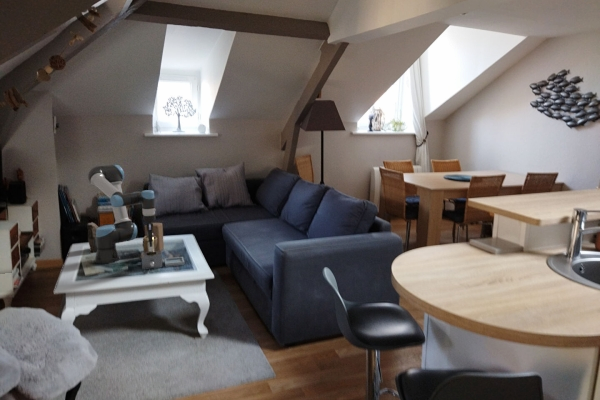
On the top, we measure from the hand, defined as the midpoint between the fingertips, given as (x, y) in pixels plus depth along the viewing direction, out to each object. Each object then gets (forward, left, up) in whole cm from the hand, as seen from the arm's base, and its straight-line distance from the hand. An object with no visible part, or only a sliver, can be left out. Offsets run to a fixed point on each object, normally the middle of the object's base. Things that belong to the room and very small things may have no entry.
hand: (151, 250), depth 294 cm
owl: (-36, +52, -10) cm, 64 cm away
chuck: (0, -3, -10) cm, 11 cm away
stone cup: (-1, +21, -10) cm, 23 cm away
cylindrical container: (0, 0, -5) cm, 5 cm away
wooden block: (+3, +35, -10) cm, 37 cm away
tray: (+14, 0, -10) cm, 17 cm away
